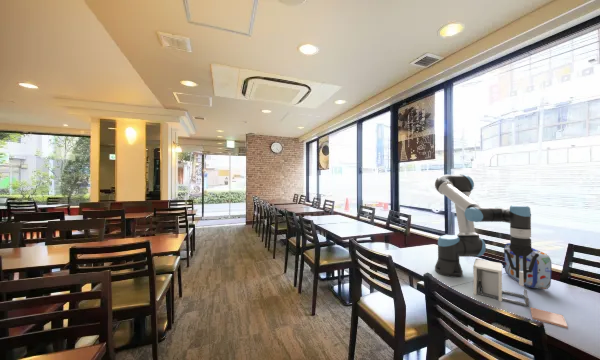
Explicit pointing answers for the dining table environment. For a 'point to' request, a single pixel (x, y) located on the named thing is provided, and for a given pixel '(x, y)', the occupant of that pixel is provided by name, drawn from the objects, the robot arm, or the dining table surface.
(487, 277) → the cup
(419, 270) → the dining table surface
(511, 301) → the frame
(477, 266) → the shelf
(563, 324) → the coaster
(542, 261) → the lunch box
